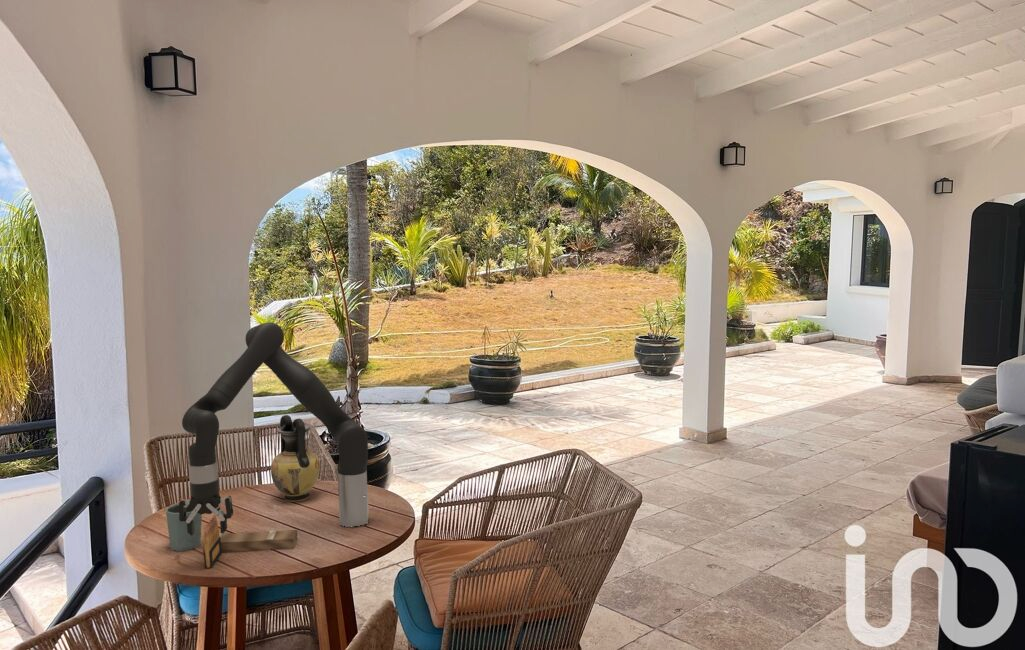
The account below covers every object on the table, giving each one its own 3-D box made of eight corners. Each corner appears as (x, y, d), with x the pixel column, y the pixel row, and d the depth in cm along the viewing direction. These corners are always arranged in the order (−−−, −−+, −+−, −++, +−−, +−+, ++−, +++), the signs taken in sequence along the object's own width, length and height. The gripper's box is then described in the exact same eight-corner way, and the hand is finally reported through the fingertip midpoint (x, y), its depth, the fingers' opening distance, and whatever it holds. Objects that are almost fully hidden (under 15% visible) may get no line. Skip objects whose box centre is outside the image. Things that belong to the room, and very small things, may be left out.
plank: (297, 539, 228) (297, 529, 228) (293, 548, 221) (293, 537, 221) (210, 544, 225) (209, 533, 225) (203, 553, 218) (202, 542, 218)
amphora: (261, 499, 265) (258, 417, 262) (300, 487, 279) (297, 409, 276) (292, 509, 255) (288, 424, 252) (331, 496, 268) (328, 415, 265)
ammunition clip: (211, 568, 208) (208, 527, 206) (204, 568, 207) (201, 527, 206) (222, 552, 218) (218, 513, 217) (215, 553, 218) (212, 514, 217)
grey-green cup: (163, 545, 224) (160, 507, 223) (196, 536, 231) (194, 499, 230) (175, 555, 217) (173, 515, 216) (209, 545, 224) (207, 507, 223)
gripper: (233, 473, 214) (236, 527, 216) (182, 476, 213) (185, 530, 214) (226, 481, 207) (230, 536, 209) (173, 484, 205) (177, 540, 207)
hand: (207, 533), depth 212 cm, fingers open, 8 cm apart
